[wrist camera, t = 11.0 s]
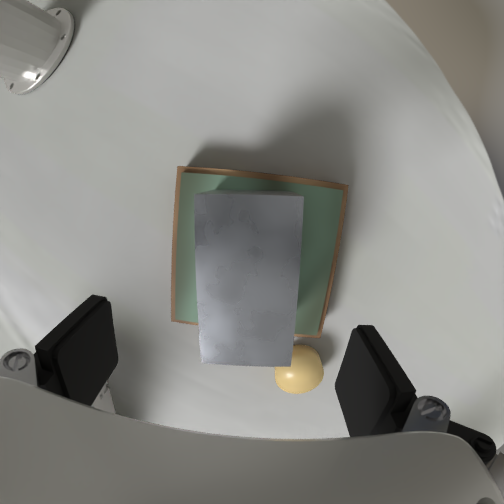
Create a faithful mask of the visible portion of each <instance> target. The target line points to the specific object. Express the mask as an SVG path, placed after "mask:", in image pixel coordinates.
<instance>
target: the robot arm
mask: <svg viewBox="0 0 504 504" xmlns="http://www.w3.org/2000/svg"><path fill="white" fill-rule="evenodd" d="M73 32H74V18H73V16H72V14H71V13H70V12H69V11H67V10H66V9H64V8H53V9H50V10H48V11H44V10H42V9H41V8H39V7H37V6H35V5H34V4H32V3H30V2H29V1H27V0H0V77H1V78H4V82H5V85H6V88H7V89H8V91H10V92H11V93H14V94H26V93H29V92H31V91H32V90H34V89H36V88H37V87H38V86H40V85H41V84H42V83H43V82H44V81H45V80H46V79H47V78H48V77H49V76H50V75H51V73H52V72H53V71H54V70H55V69H56V67H57V66H58V64H59V63H60V61H61V60H62V58H63V56H64V55H65V53H66V51H67V49H68V47H69V45H70V42H71V39H72V36H73ZM35 349H36V353H35V354H34V355H33V354H32V352H31V351H29V350H27V349H14V350H11V351H8V352H7V353H5V354H4V355H3V356H2V358H1V359H0V504H504V454H503V453H502V452H499V454H496V446H495V443H494V441H493V440H492V439H491V438H490V437H489V436H487V435H486V434H483V433H481V432H478V431H476V430H473V429H470V428H468V427H465V426H463V425H460V424H458V423H455V422H453V421H450V409H449V407H448V406H447V404H446V403H445V402H443V401H442V400H441V399H439V398H436V397H433V396H422V397H419V398H417V396H416V395H415V392H416V389H415V388H414V386H413V385H412V383H411V381H410V380H409V378H408V377H407V375H406V374H405V372H404V371H403V369H402V368H401V366H400V364H399V363H398V361H397V360H396V358H395V357H394V355H393V354H392V352H391V351H390V349H389V348H388V346H387V345H386V343H385V342H384V340H383V339H382V338H381V336H380V335H379V333H378V332H377V330H376V329H375V327H374V326H373V325H358V326H357V328H354V329H353V330H352V333H351V336H350V339H349V343H348V346H347V349H346V352H345V355H344V358H343V361H342V364H341V367H340V370H339V373H338V376H337V379H336V382H335V390H336V393H337V396H338V400H339V403H340V406H341V409H342V412H343V415H344V418H345V422H346V425H347V428H348V431H349V435H350V437H345V438H326V439H270V438H252V437H239V436H228V435H219V434H211V433H204V432H197V431H191V430H185V429H179V428H173V427H168V426H163V425H159V424H154V423H149V422H145V421H141V420H137V419H133V418H129V417H125V416H121V415H118V414H114V413H111V412H107V411H104V410H101V409H98V408H94V407H91V406H92V404H93V402H94V401H95V399H96V397H97V396H98V394H99V393H100V391H101V389H102V388H103V386H104V384H105V383H106V381H107V380H108V378H109V377H110V375H111V373H112V372H113V370H114V369H115V367H116V365H117V363H118V353H117V347H116V340H115V333H114V326H113V318H112V309H111V303H110V302H109V301H107V298H106V297H102V296H97V295H91V296H90V297H89V298H88V299H87V300H85V301H84V302H83V303H82V304H81V305H80V306H78V307H77V308H76V309H75V310H74V311H73V312H72V313H71V314H69V315H68V316H67V317H66V318H65V319H64V320H63V321H62V322H60V323H59V324H58V325H57V326H56V327H55V328H54V329H53V330H52V331H51V332H50V333H48V334H47V335H46V336H45V337H44V338H43V339H42V340H41V341H40V342H39V343H38V344H37V345H36V346H35Z"/></svg>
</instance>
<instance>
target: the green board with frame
mask: <svg viewBox="0 0 504 504" xmlns="http://www.w3.org/2000/svg"><path fill="white" fill-rule="evenodd" d="M215 189H230V190H276V191H292V192H295V193H297V194H299V195H301V196H304V205H303V226H302V244H301V260H300V274H299V287H298V299H297V311H296V322H295V332H294V336H297V337H311V338H320V337H321V333H322V329H323V324H324V320H325V316H326V311H327V307H328V302H329V298H330V293H331V288H332V283H333V278H334V273H335V268H336V263H337V257H338V252H339V246H340V240H341V234H342V228H343V221H344V215H345V208H346V201H347V193H348V185H345V184H339V183H333V182H326V181H320V180H313V179H306V178H299V177H292V176H284V175H276V174H267V173H258V172H249V171H238V170H227V169H215V168H201V167H185V166H178V167H177V178H176V190H175V204H174V220H173V240H172V273H171V321H173V322H179V323H186V324H192V325H198V308H197V290H196V266H195V228H194V194H197V193H202V192H206V191H210V190H215Z"/></svg>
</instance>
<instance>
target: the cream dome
mask: <svg viewBox="0 0 504 504" xmlns="http://www.w3.org/2000/svg"><path fill="white" fill-rule="evenodd" d="M323 375H324V371H323V367H322V363H321V360H320V356H319V354H318V352H317V351H316V350H315V349H314V348H312V347H310V346H307V345H293V352H292V361H291V367H275V380H276V383H277V385H278V386H279V387H280V388H281V389H282V390H284V391H286V392H289V393H294V394H299V393H305V392H308V391H311V390H312V389H314V388H315V387H317V386H318V385H319V384H320V382H321V381H322V379H323Z"/></svg>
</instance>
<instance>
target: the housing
mask: <svg viewBox="0 0 504 504" xmlns="http://www.w3.org/2000/svg"><path fill="white" fill-rule="evenodd" d="M303 205H304V196H301V195H299V194H297V193H295V192H292V191H276V190H230V189H215V190H210V191H206V192H202V193H197V194H194V228H195V266H196V290H197V308H198V325H199V339H200V352H201V363H209V364H223V365H240V366H268V367H291V361H292V352H293V342H294V332H295V322H296V311H297V299H298V287H299V274H300V260H301V244H302V226H303Z"/></svg>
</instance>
